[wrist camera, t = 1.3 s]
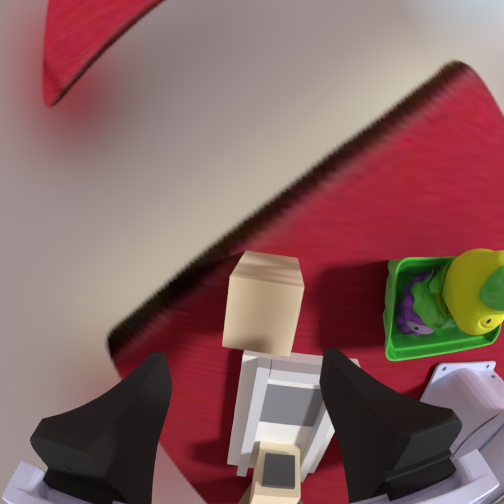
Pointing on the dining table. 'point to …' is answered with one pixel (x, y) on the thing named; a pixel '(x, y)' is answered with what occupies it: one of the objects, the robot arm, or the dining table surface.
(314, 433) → the rail
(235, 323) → the maple finger
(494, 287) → the fruit basket
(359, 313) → the dining table surface
